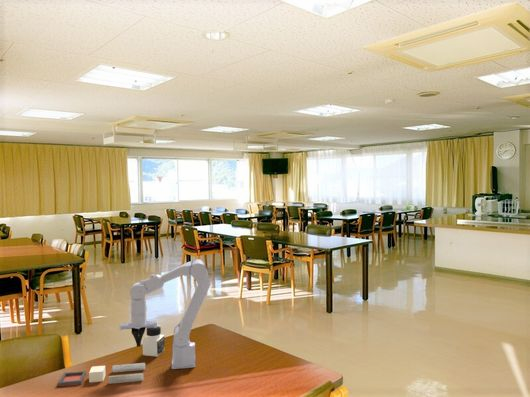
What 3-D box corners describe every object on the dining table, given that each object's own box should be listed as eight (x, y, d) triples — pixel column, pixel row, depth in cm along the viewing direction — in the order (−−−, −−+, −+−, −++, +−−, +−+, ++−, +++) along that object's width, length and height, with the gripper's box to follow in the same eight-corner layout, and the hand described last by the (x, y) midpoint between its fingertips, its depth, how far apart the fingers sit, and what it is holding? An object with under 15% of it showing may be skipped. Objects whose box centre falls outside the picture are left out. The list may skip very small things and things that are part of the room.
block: (105, 375, 161) (105, 365, 161) (103, 381, 156) (102, 371, 156) (92, 376, 160) (91, 366, 160) (89, 382, 155) (89, 372, 155)
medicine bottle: (157, 357, 178) (157, 329, 177) (142, 355, 179) (142, 328, 179) (164, 350, 185) (164, 324, 184) (150, 348, 186) (150, 322, 186)
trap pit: (86, 374, 162) (85, 370, 162) (81, 384, 154) (81, 380, 154) (64, 376, 160) (64, 372, 160) (58, 386, 152) (58, 382, 152)
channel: (145, 368, 167) (145, 362, 167) (143, 380, 157) (142, 374, 157) (112, 371, 164) (112, 365, 164) (108, 383, 154) (108, 377, 154)
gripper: (118, 317, 161) (118, 351, 161) (156, 314, 164) (156, 348, 164) (120, 311, 168) (121, 343, 168) (157, 309, 171) (157, 341, 171)
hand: (138, 345), depth 167 cm, fingers closed
